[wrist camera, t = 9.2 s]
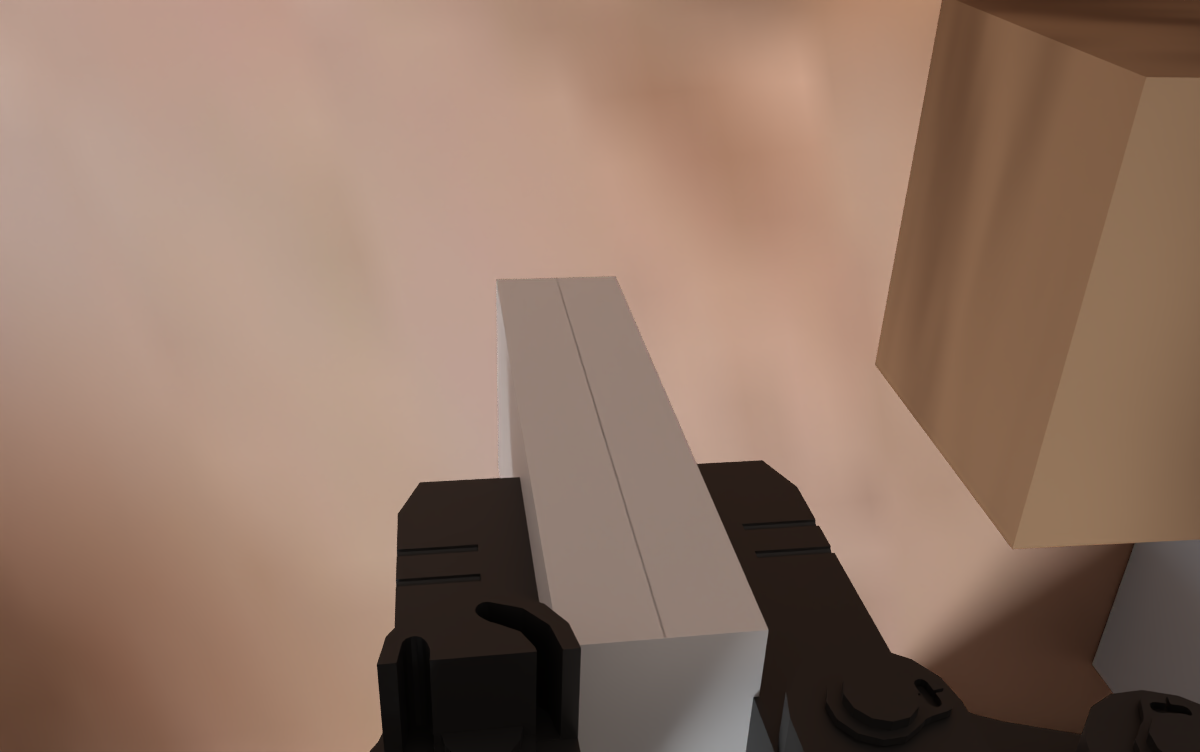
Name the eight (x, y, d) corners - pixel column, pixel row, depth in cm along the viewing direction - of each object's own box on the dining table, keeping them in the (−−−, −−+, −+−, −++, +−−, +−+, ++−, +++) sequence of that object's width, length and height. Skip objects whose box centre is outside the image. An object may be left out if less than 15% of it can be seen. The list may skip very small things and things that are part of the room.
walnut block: (872, 361, 21) (1012, 548, 16) (940, -7, 18) (1146, 77, 12) (1194, 352, 22) (1428, 527, 17) (1317, 1, 18) (1658, 82, 13)
